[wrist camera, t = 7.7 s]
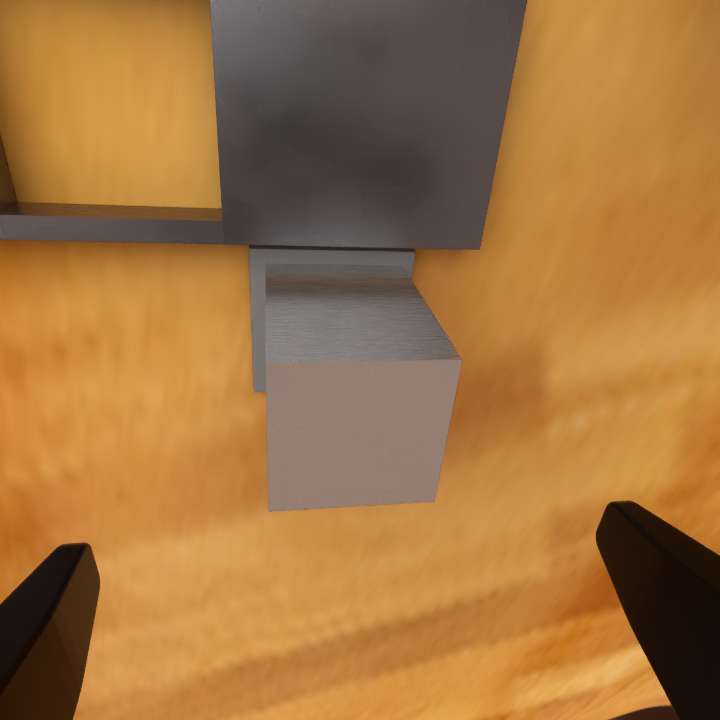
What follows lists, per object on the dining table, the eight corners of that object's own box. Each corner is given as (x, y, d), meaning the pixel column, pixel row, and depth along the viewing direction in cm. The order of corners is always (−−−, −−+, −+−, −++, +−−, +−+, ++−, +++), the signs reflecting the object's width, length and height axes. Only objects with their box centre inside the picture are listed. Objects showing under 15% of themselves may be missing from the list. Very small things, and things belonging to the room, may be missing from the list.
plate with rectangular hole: (511, -25, 16) (533, -31, 15) (465, 236, 20) (479, 249, 19) (-183, -104, 13) (-232, -122, 12) (-72, 223, 17) (-100, 237, 15)
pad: (412, 248, 20) (415, 252, 19) (395, 383, 23) (397, 388, 22) (249, 245, 19) (248, 248, 18) (254, 386, 22) (253, 392, 21)
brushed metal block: (402, 265, 20) (462, 360, 14) (388, 379, 22) (434, 501, 16) (265, 263, 19) (265, 362, 13) (267, 382, 21) (268, 512, 15)
